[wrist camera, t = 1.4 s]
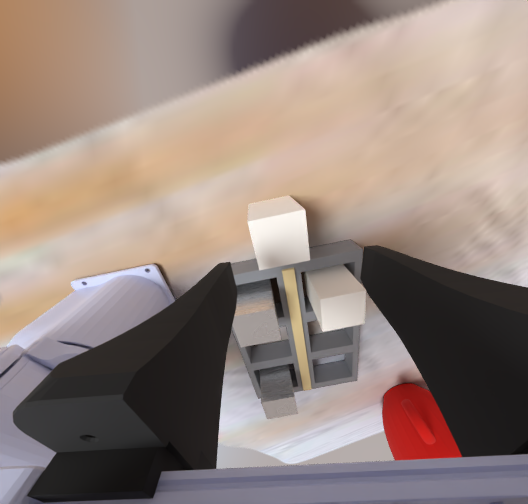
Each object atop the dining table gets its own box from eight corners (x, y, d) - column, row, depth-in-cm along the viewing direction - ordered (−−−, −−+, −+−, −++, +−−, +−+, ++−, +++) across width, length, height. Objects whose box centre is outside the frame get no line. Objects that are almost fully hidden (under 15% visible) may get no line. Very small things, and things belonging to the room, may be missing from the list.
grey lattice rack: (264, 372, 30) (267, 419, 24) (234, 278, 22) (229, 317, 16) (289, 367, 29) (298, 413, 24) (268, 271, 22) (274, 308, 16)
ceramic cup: (420, 349, 30) (495, 430, 21) (443, 394, 36) (507, 472, 27) (346, 382, 32) (383, 467, 23) (380, 419, 39) (419, 496, 30)
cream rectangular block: (257, 241, 20) (259, 270, 15) (248, 203, 18) (247, 221, 13) (294, 233, 20) (310, 260, 14) (289, 195, 18) (305, 209, 13)
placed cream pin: (306, 292, 23) (322, 331, 18) (302, 265, 22) (320, 299, 16) (337, 286, 23) (364, 323, 18) (337, 258, 21) (366, 290, 16)
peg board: (257, 381, 30) (258, 401, 28) (216, 266, 21) (212, 281, 18) (349, 364, 30) (358, 382, 28) (350, 239, 20) (364, 250, 18)
